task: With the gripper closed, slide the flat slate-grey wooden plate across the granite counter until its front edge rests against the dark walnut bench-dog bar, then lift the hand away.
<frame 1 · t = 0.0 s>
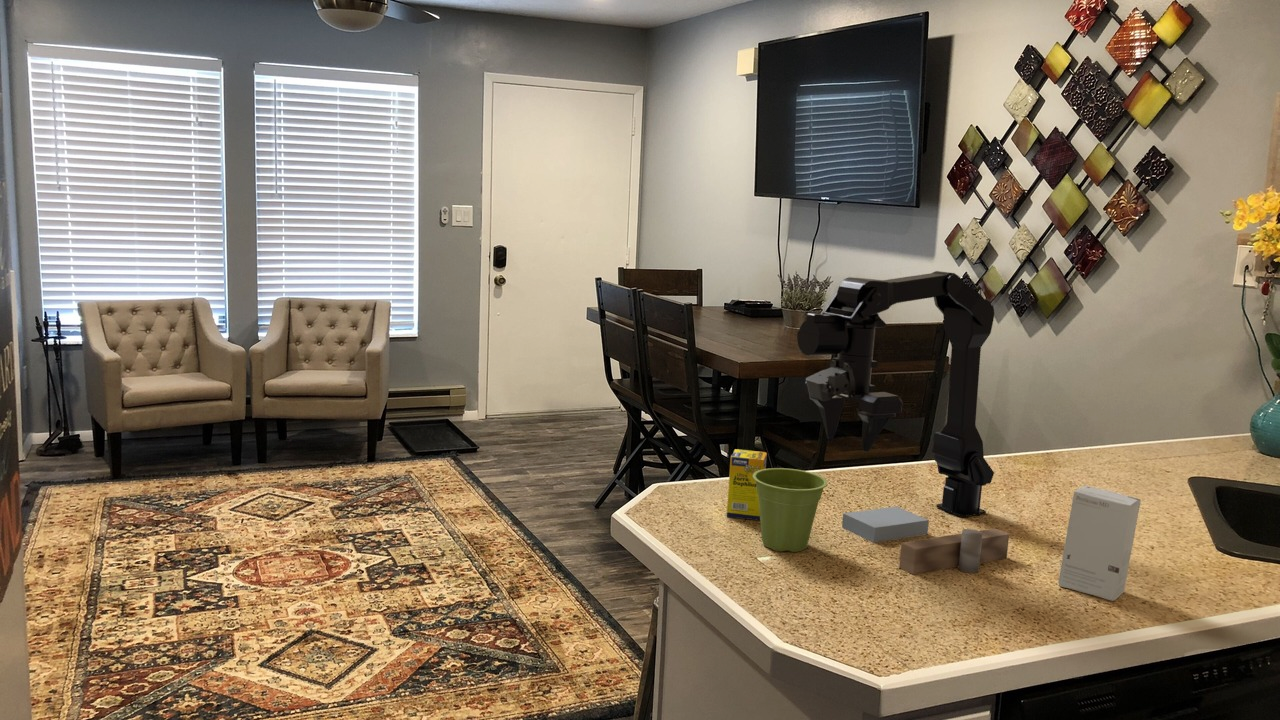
hand: (847, 444, 168), 15 cm above the kitchen counter, tool pointing down, fingers open, 9 cm apart
plant pot: (784, 546, 160), on the kitchen counter
supplement box: (744, 515, 175), on the kitchen counter
slate plate: (884, 533, 170), on the kitchen counter
skincare box: (1092, 590, 148), on the kitchen counter
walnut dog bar: (954, 562, 156), on the kitchen counter
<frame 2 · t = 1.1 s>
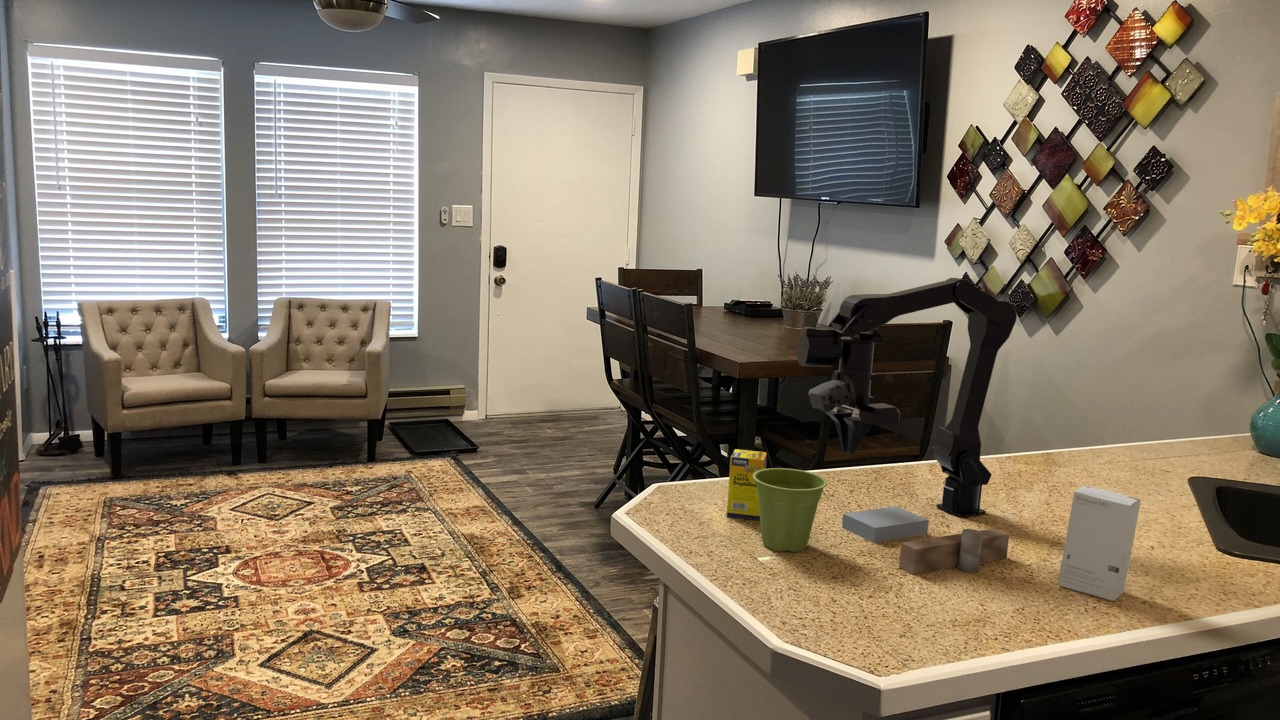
hand: (848, 452, 177), 11 cm above the kitchen counter, tool pointing down, fingers closed
nothing on the kitchen counter moved.
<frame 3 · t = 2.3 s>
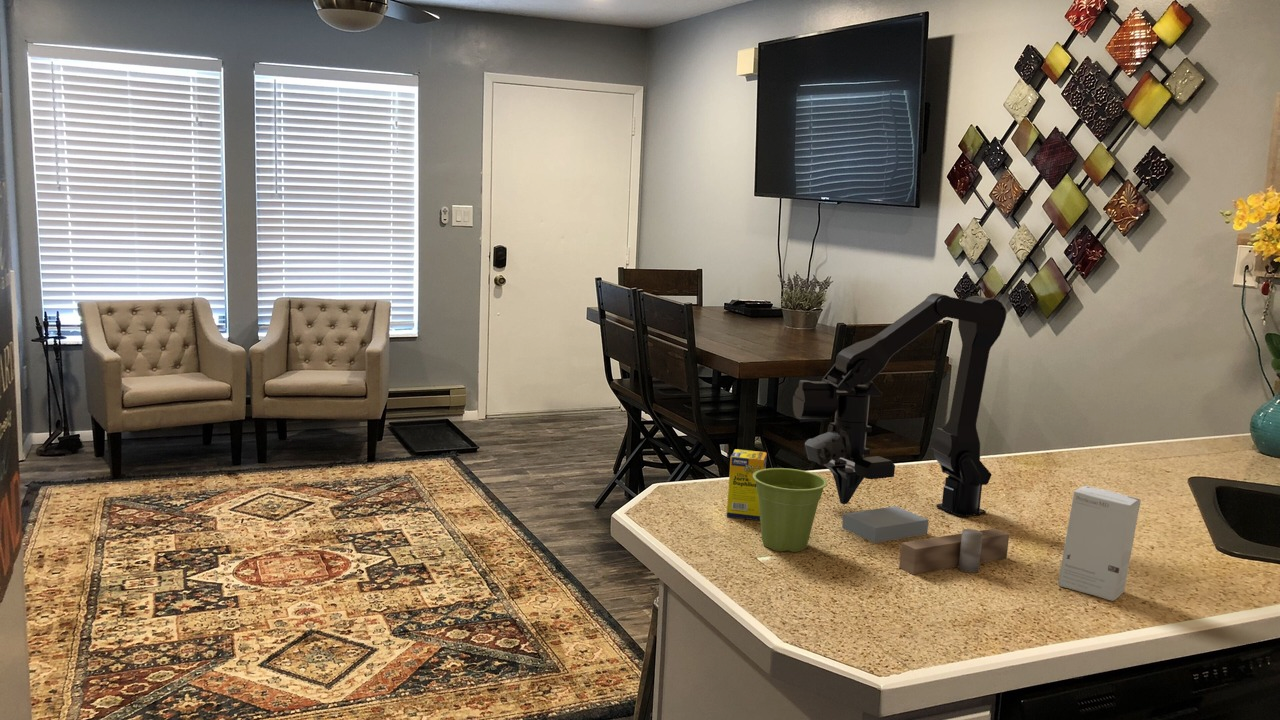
hand: (843, 503, 179), 2 cm above the kitchen counter, tool pointing down, fingers closed
nothing on the kitchen counter moved.
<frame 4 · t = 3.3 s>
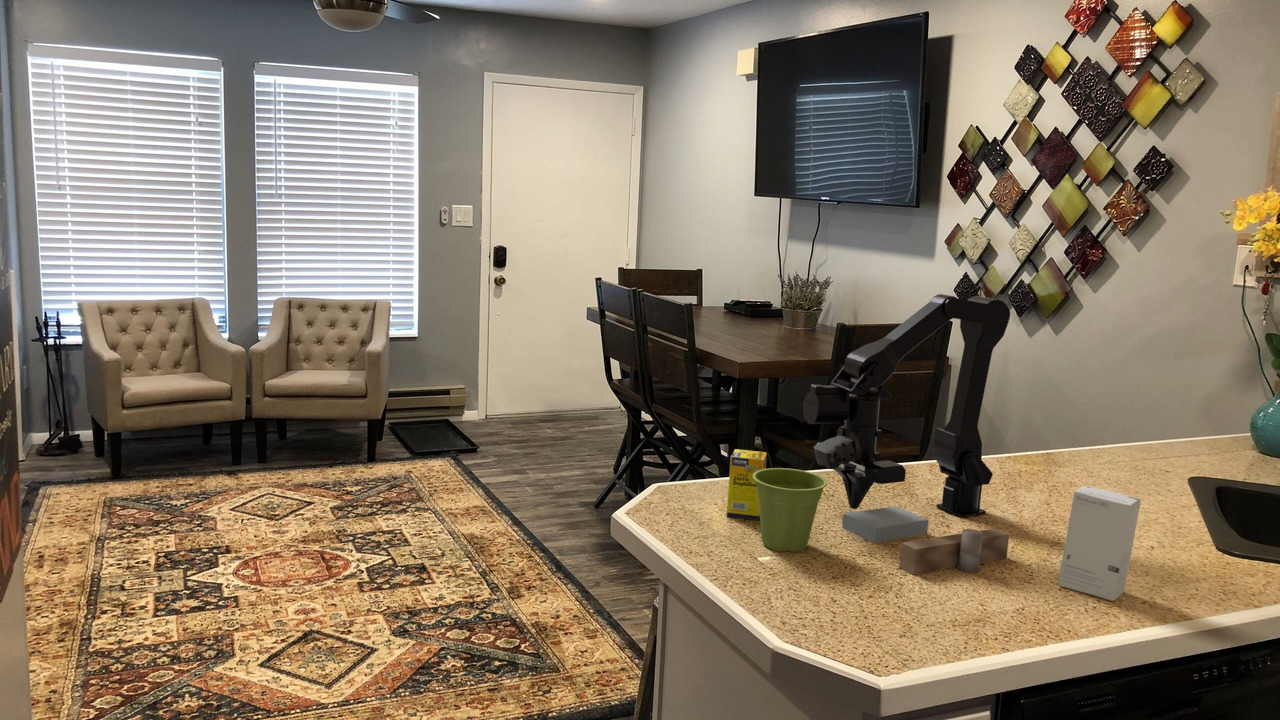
hand: (853, 508, 177), 1 cm above the kitchen counter, tool pointing down, fingers closed
nothing on the kitchen counter moved.
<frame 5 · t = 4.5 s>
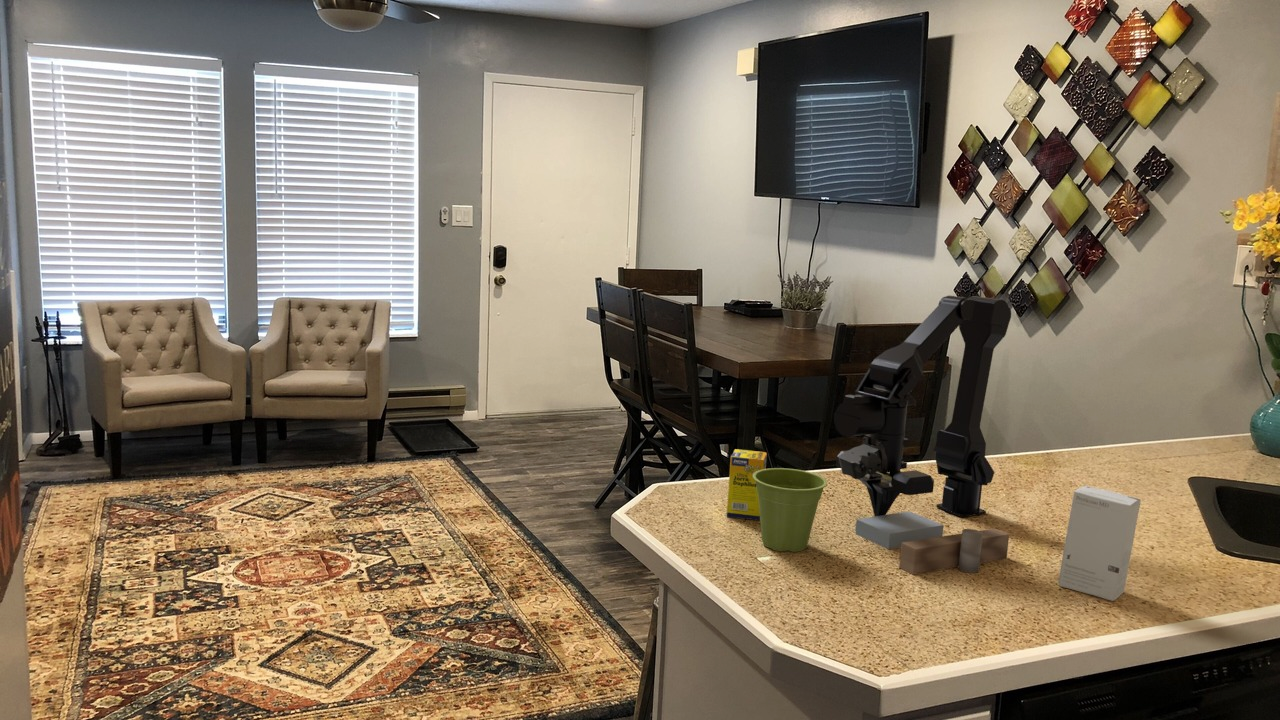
hand: (878, 519, 171), 2 cm above the kitchen counter, tool pointing down, fingers closed
slate plate: (898, 539, 167), on the kitchen counter
everything else where it was.
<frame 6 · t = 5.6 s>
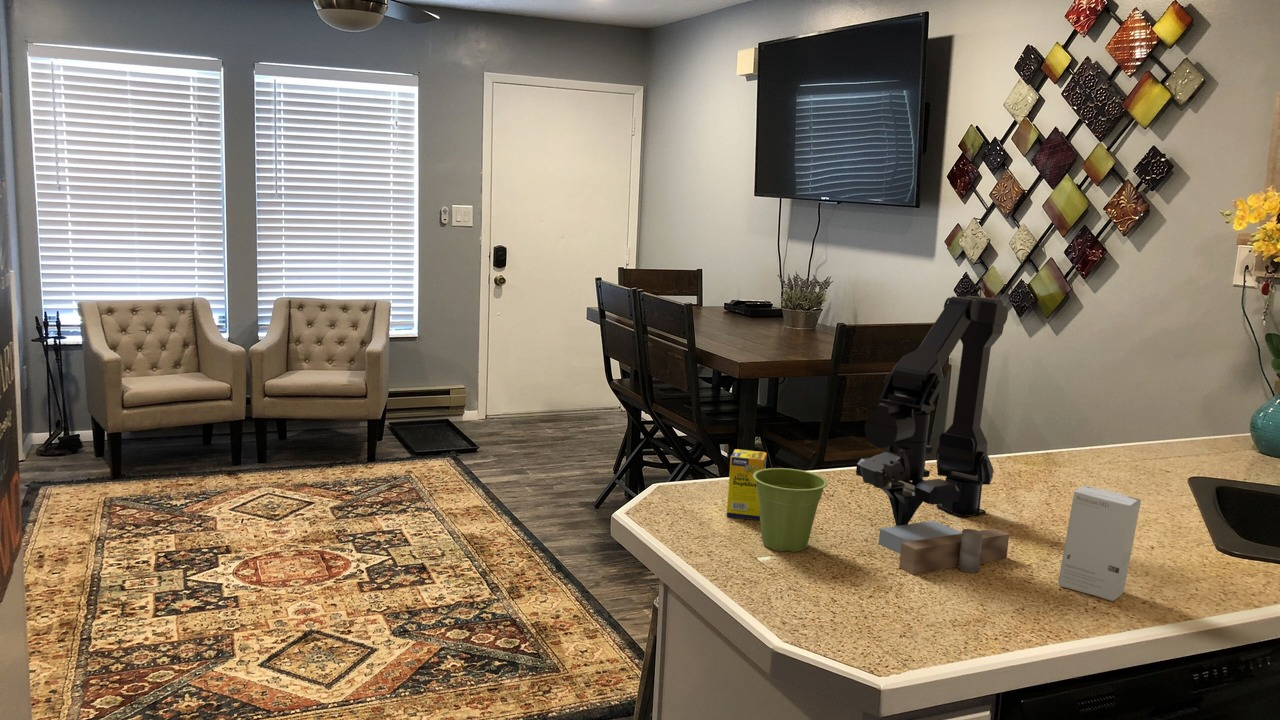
hand: (900, 529, 166), 2 cm above the kitchen counter, tool pointing down, fingers closed
slate plate: (922, 549, 162), on the kitchen counter, touching gripper
everything else where it was.
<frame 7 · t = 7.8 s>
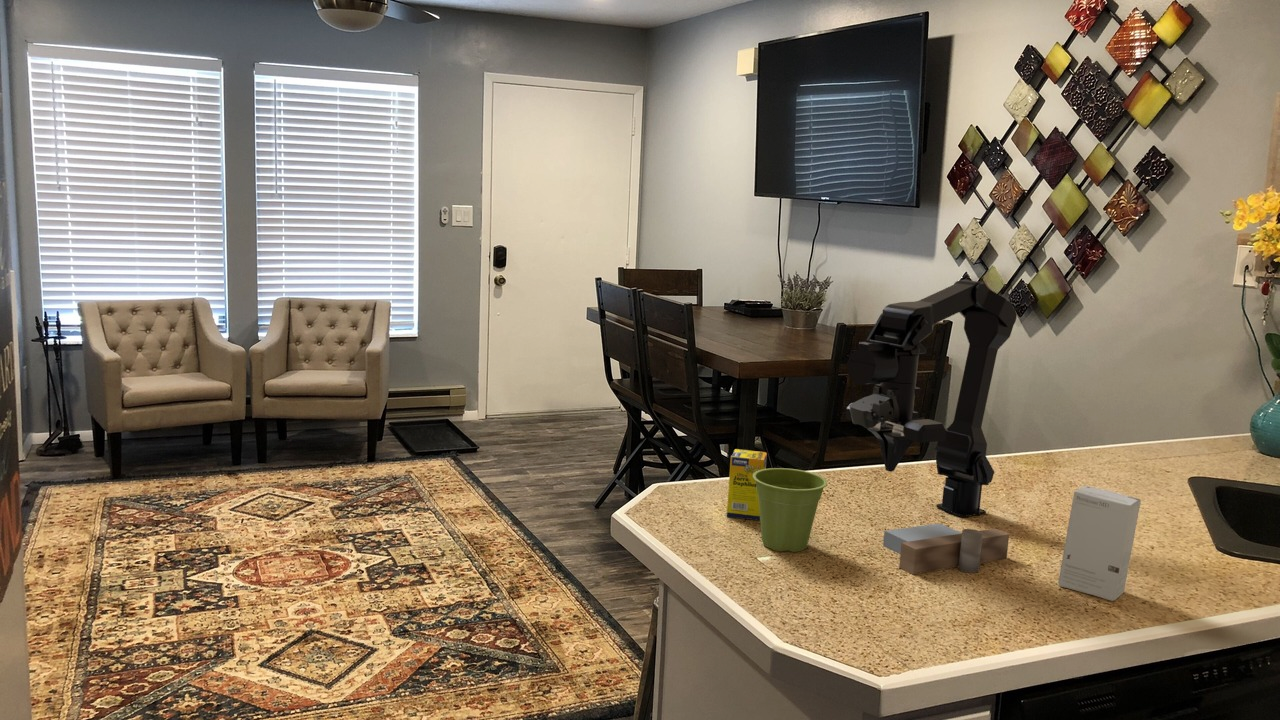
hand: (889, 470, 168), 11 cm above the kitchen counter, tool pointing down, fingers closed
slate plate: (927, 552, 161), on the kitchen counter
everything else where it was.
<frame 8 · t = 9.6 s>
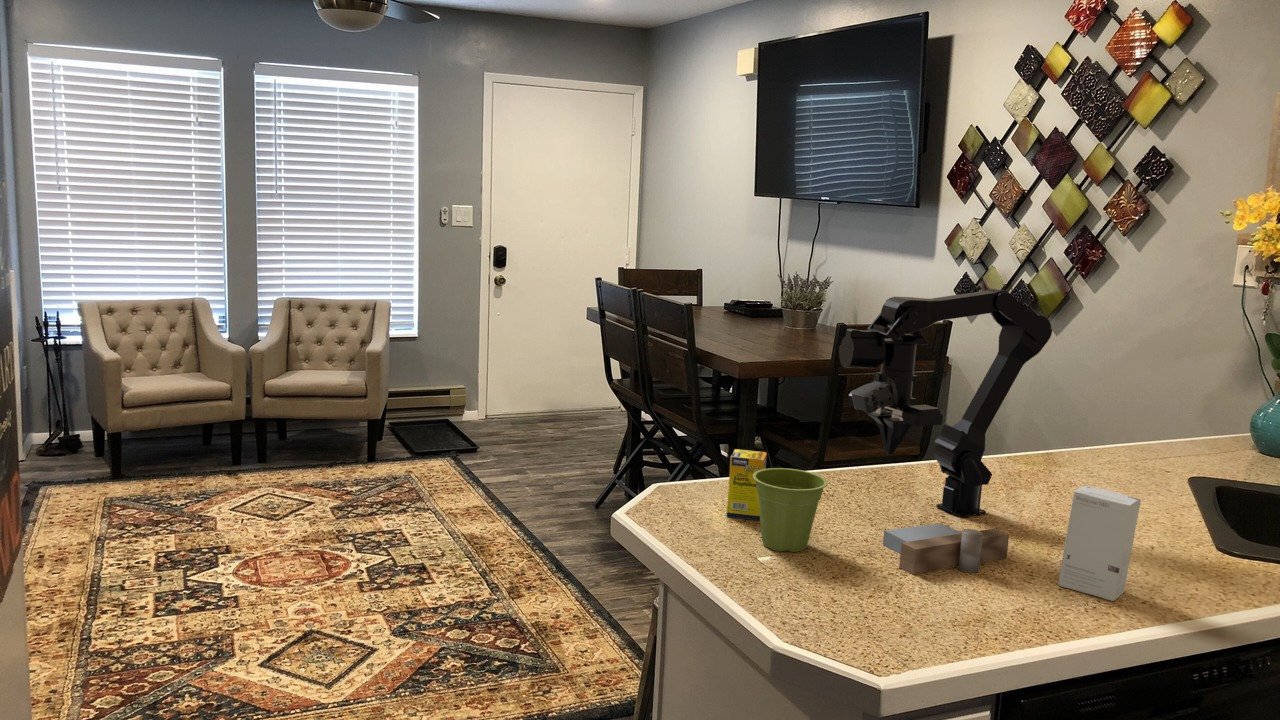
hand: (889, 453, 178), 11 cm above the kitchen counter, tool pointing down, fingers closed
nothing on the kitchen counter moved.
at the end: slate plate inside the target area (1.0 cm from its centre), on the kitchen counter; slate plate tilted 0°; slate plate moved 9.9 cm from its start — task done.
